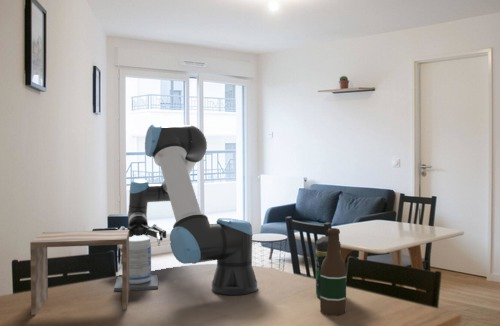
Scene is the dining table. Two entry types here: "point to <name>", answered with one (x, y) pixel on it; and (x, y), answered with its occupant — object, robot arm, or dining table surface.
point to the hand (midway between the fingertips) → (140, 243)
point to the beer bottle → (333, 278)
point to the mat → (148, 285)
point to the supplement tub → (139, 260)
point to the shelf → (72, 239)
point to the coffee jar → (321, 259)
